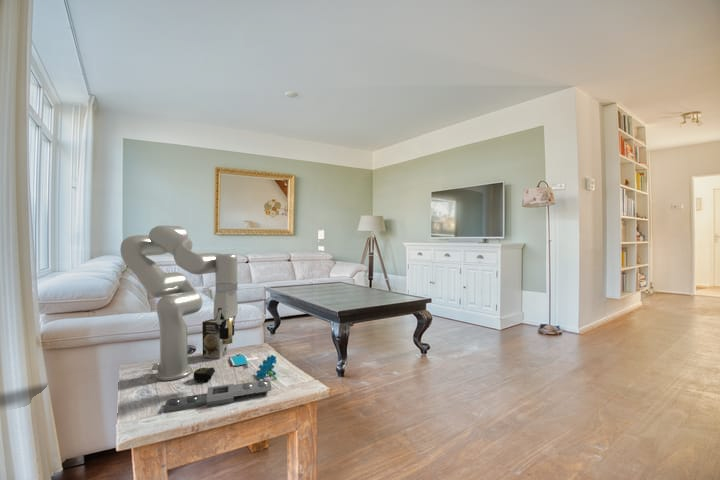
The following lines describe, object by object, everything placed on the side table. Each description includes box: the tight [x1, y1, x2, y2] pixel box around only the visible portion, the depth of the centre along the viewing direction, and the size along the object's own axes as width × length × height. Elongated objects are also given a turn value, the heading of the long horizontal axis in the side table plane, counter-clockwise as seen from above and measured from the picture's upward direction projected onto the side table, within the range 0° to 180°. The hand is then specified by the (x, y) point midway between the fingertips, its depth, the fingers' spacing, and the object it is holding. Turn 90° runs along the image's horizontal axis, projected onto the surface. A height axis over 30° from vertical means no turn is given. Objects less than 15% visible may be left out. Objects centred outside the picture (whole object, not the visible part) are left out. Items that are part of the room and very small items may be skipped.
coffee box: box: [201, 318, 229, 360], centre depth 158 cm, size 9×6×16 cm
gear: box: [255, 354, 278, 380], centre depth 133 cm, size 11×6×10 cm
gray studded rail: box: [163, 379, 272, 413], centre depth 114 cm, size 32×8×4 cm, turn 110°
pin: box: [222, 317, 233, 345], centre depth 128 cm, size 4×4×10 cm
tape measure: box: [193, 367, 216, 382], centre depth 131 cm, size 7×7×4 cm
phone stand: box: [228, 353, 260, 370], centre depth 151 cm, size 20×12×2 cm, turn 28°
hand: (227, 336), depth 128 cm, fingers closed on pin, 3 cm apart
